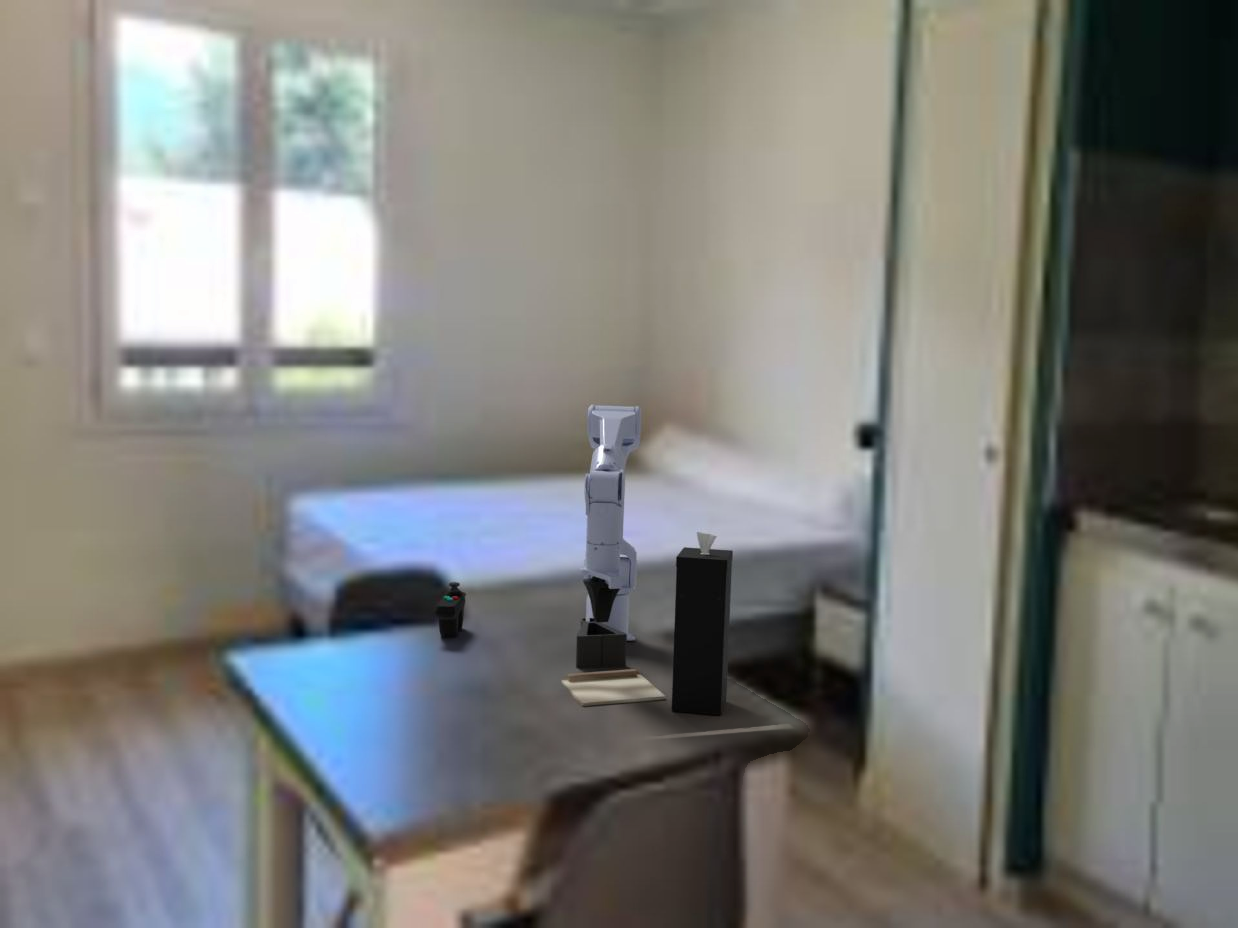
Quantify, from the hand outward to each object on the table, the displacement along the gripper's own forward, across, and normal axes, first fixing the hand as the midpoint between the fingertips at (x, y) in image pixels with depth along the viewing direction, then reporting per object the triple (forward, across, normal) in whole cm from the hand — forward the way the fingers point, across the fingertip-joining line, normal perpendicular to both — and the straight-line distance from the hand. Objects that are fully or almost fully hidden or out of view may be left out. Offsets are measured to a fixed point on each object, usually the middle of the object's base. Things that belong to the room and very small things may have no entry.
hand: (601, 621), depth 198 cm
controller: (+10, -30, -20) cm, 37 cm away
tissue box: (+10, +17, +11) cm, 23 cm away
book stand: (+10, +7, 0) cm, 12 cm away
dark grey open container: (+7, -5, +2) cm, 9 cm away
